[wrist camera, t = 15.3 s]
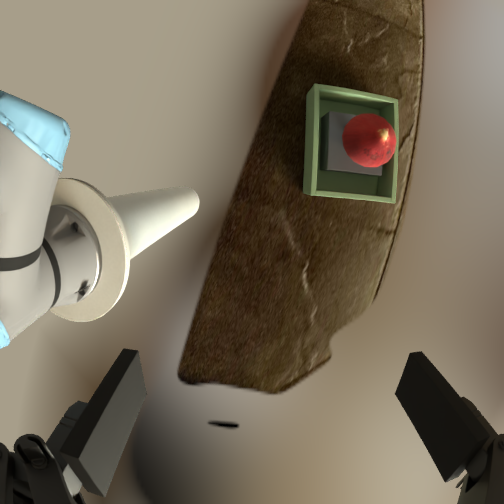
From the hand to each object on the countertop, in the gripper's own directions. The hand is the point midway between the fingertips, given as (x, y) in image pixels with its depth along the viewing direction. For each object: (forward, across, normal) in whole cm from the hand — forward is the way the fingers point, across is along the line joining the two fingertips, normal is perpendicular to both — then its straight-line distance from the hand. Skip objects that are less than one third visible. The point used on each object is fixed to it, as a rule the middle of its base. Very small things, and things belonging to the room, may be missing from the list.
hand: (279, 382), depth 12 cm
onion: (+22, +10, +14) cm, 28 cm away
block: (+27, +10, +14) cm, 32 cm away
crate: (+27, +10, +14) cm, 32 cm away
